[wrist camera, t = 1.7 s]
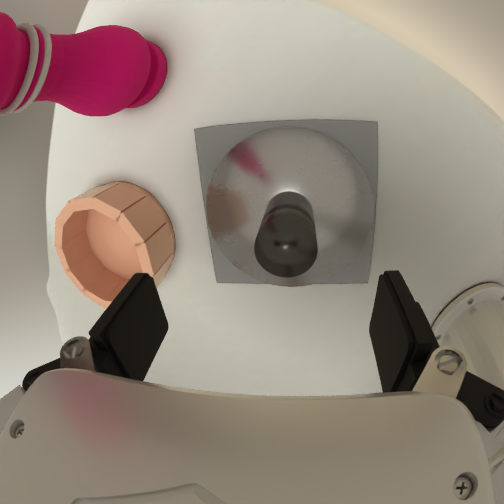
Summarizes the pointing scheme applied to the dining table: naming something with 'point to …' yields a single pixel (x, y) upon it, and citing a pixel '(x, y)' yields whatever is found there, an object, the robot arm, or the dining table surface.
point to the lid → (289, 207)
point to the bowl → (113, 239)
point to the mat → (341, 131)
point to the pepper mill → (77, 68)
